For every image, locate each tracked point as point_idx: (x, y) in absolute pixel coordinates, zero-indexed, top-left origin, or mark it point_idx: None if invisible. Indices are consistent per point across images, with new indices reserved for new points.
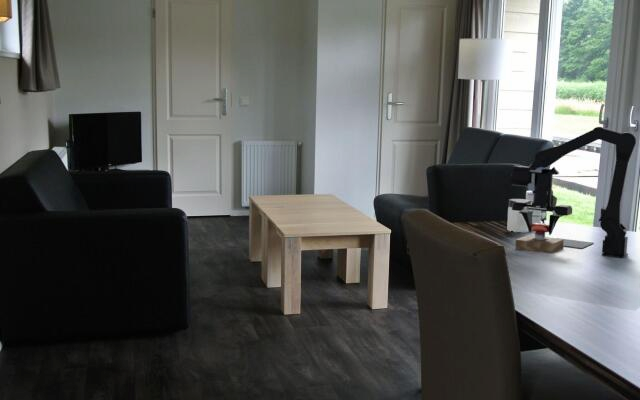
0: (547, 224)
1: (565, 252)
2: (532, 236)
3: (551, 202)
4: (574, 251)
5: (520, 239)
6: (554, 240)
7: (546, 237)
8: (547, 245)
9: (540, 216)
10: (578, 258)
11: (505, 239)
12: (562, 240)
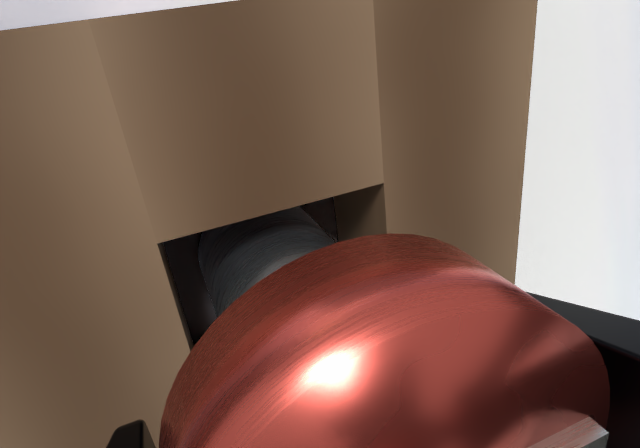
0: (538, 335)
1: (524, 201)
2: (23, 190)
3: None
4: (577, 76)
5: None
6: (469, 195)
7: (275, 49)
8: None
9: None
10: (626, 308)
11: None
12: (525, 24)
